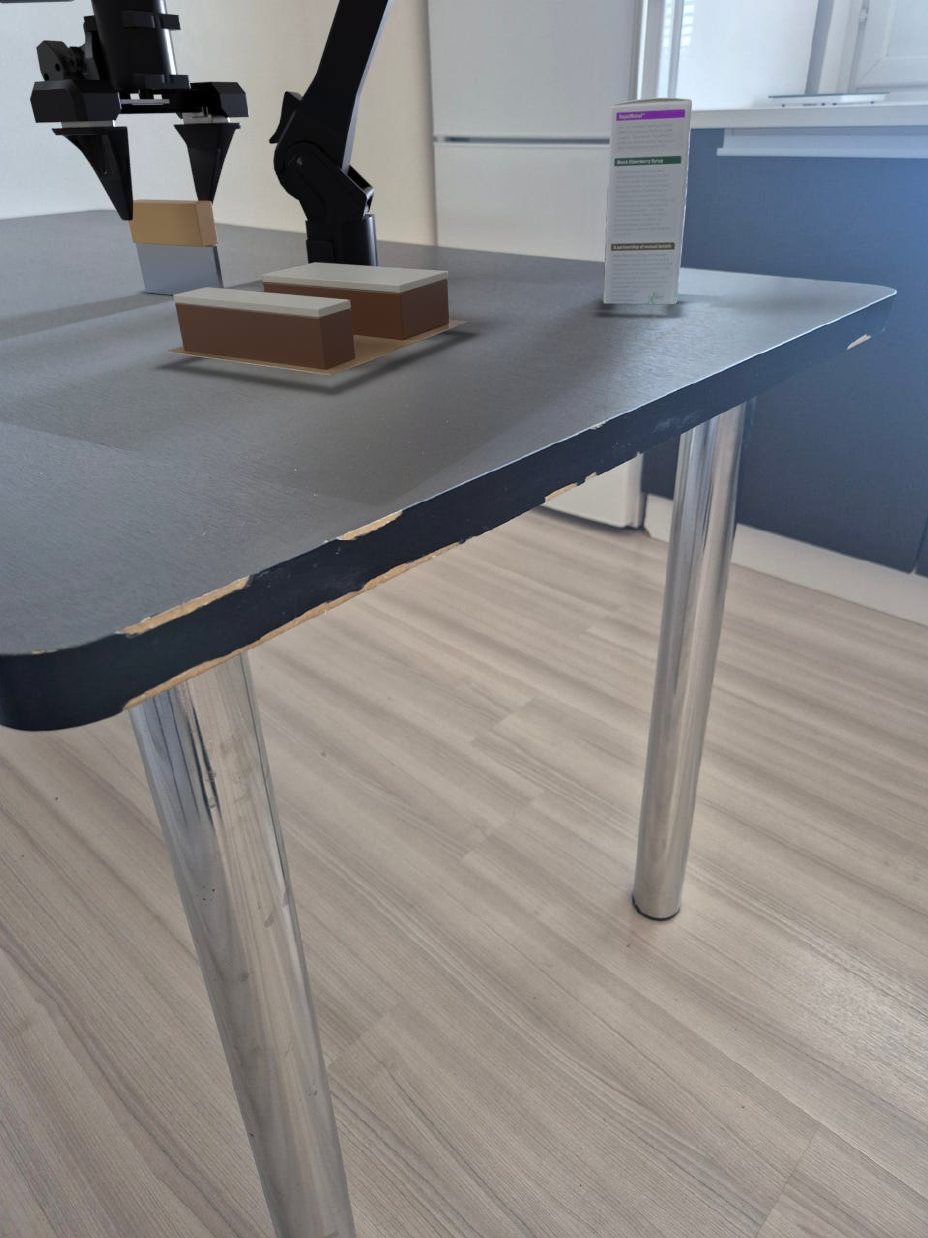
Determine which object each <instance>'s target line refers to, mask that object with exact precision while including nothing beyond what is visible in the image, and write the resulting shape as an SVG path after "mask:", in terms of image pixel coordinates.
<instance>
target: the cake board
mask: <svg viewBox="0 0 928 1238" xmlns="http://www.w3.org/2000/svg"><path fill="white" fill-rule="evenodd" d="M468 322H469V321H467V320H458V319H449V323H446V324H444V325H441V326H438V327H436V328H433V329H431V330H428V331H425V332H423V333H420V334H417V335H415V336H412V337H409V338H407V339H404V340H398V339H389V338H380V337H372V336H363V335H354V334H353V338H354V349H355V359H352V360H349V361H347V362H344V363H342V364H339V365H336V366H334V367H331V368H328V369H326V370H325V369H318V368H310V367H303V366H296V365H289V364H281V363H274V362H267V361H260V360H252V359H245V358H238V357H231V356H223V355H216V354H209V353H202V352H194V351H187V350H184V347H183V345H182V346H179V347H176V348H172V349H168V350H166V351H165V353H169V354H177V355H183V356H184V355H185V356H192V357H197V358H198V357H199V358H204V359H212V360H218V361H226V362H232V363H240V364H248V365H254V366H262V367H269V368H275V369H282V370H289V371H297V372H304V373H311V374H318V375H325V376H333V375H334V376H335V375H336V374H339V373H342V372H344V371H346V370H349V369H351V368H354V367H357V366H359V365H363V364H364V363H367V362H370V361H372V360H375V359H377V358H380V357H382V356H386V355H387V354H390V353H393V352H395V351H398V350H400V349H403V348H406V347H408V346H411V345H413V344H415V343H419V342H421V341H424V340H426V339H429V338H432V337H433V336H436V335H438V334H441V333H444V332H446V331H449V330H451V329H454V328H456V327H459V326H462V325H464V324H467V323H468Z"/></svg>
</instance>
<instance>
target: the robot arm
mask: <svg viewBox="0 0 928 1238" xmlns="http://www.w3.org/2000/svg"><path fill="white" fill-rule="evenodd" d="M74 1H75V0H0V4H3V5H7V4H35V3H36V4H37V3H41V4H42V3H70V2H71V3H72V2H74ZM166 1H167V0H90V3H91V9H92V13H93V14H91V15H83V17H82V18H83V24H82V27H83V28H82V29H83V33H84V43H83V44H81V45H79V46H74V45H70V46H68V45H67V44H66V43H65V42H64V41H62V40H47V39H45V40H44V39H43V40H42V41H41V42H40V43H39V44H38V45H37V46H36V47H35V50H36V54H37V55H36V56H37V61H38V67H39V71H40V74H41V77H42V80H39V81H34V82H33V87H32V88H31V89H32V90H31V94H30V97H29V102H30V106H31V110H32V114H33V118H34V121H35V122H34V123H35V124H49V123H50V124H51V123H60V125H61V127H52V128H51V131H52V133H53V134H54V135H55V136H62V137H64V138H65V139H67V141H69V142H70V143H71V144H72V145H73V146H75V147H76V148H77V150H79V151H80V152H81V153H82V155H83V156H84V158H85V159H86V161H87V162H88V164H89V166H90V167H91V168H92V170H93V171H94V173H95V175H96V176H97V178H98V181H99V182H100V184H101V186H102V187H103V189H104V191H105V193H106V195H107V197H108V198H109V200H110V202H111V203H112V205H113V207H114V209H115V211H116V212H117V214H118V216H119V217H120V219H121V220H122V221H123V222H125V221H126V222H129V221H131V220H133V200H134V193H133V191H134V190H133V179H132V170H131V169H132V168H131V166H132V165H131V157H130V156H131V154H130V143H129V142H130V139H129V130H128V126H126V125H123V126H121V125H120V126H116V125H115V122H116V121H117V119H118V118H119V115H150V114H151V115H153V114H155V115H156V114H157V115H158V114H176V116H177V117H178V118H179V119H180V120H182V122H183V123H173V125H172V126H173V127H174V129H175V130H176V132H177V133H178V135H179V136H180V138H181V139H182V140H183V142H184V143H185V145H186V148H187V149H186V150H187V155H188V160H189V165H190V170H191V176H192V179H193V184H194V185H193V186H194V191H195V194H196V198H197V201H211V203H212V206H213V205H214V201H215V198H216V194H217V190H218V186H219V182H220V178H221V174H222V171H223V168H224V164H225V161H226V158H227V155H228V152H229V149H230V147H231V143H232V140H233V137H234V135H235V132H236V130H241V129H242V123H241V122H231V121H230V118H231V119H232V118H250V111H249V103H248V97H247V92H246V91H245V90H244V89H243V88H242V87H241V85H240V84H239V82H237V81H196V82H191V81H190V75H189V74H179V72H178V66H177V61H176V55H175V48H174V42H173V37H172V36H173V35H172V32H174V31H181V30H182V25H181V21H180V15H179V14H173V13H168V7H167V2H166ZM392 3H393V0H338V4H337V6H336V9H335V13H334V16H333V19H332V21H331V26H330V28H329V32H328V35H327V38H326V41H325V45H324V47H323V51H322V54H321V57H320V61H319V63H318V67H317V70H316V72H315V75H314V77H313V79H312V80H311V82H310V84H309V86H308V87H307V88H306V90H305V92H304V94H303V95H301V93H299V92H296V91H289V90H286V91H284V94H283V98H282V102H281V111H280V118H279V121H278V124H277V127H276V129H275V131H274V133H273V134H272V135H271V136H270V137H269V139H268V143H269V144H270V145H273V144H276V146H275V148H274V153H273V159H272V160H273V161H272V162H273V170H274V172H275V175H276V177H277V180H278V182H279V185H280V186H281V187H282V188H283V189H284V191H285V192H286V193H287V194H288V195H289V196H291V197H292V198H294V199H295V200H296V201H298V203H299V205H300V206H301V209H302V211H303V214H304V215H305V217H306V220H304V224H305V233H306V240H305V250H306V257H307V264H310V263H315V262H316V263H331V264H346V265H361V266H377V267H380V265H379V251H378V239H377V238H378V237H377V236H378V235H377V224H376V214H374V213H369V212H370V210H371V207H372V203H373V200H374V195H375V188H374V186H373V185H372V184H371V183H370V182H369V181H367V179H366V178H364V176H362V174H361V173H359V172H358V171H357V170H356V169H355V168H354V167H353V166H352V165H351V160H352V159H351V158H352V154H353V148H354V143H355V142H354V141H355V135H356V128H357V122H358V121H357V120H358V113H359V105H360V98H361V95H362V94H361V93H362V91H363V88H364V85H365V83H366V79H367V76H368V74H369V71H370V67H371V65H372V62H373V60H374V59H373V58H374V56H375V52H376V50H377V47H378V44H379V41H380V39H381V36H382V33H383V31H384V30H383V29H384V26H385V23H386V21H387V18H388V15H389V11H390V9H391V6H392ZM131 95H138V98H132V96H131ZM155 96H160V97H161V98H155Z"/></svg>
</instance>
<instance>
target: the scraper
mask: <svg viewBox="0 0 928 1238" xmlns="http://www.w3.org/2000/svg"><path fill="white" fill-rule="evenodd" d="M215 221H216V220H215V216H214V209H213V205H212V203H211V201H198V200H191V199H190V200H189V199H188V200H186V199H150V198H149V199H145V198H144V199H143V198H141V199H140V198H139V199H133V220H131V221H128V226H129V230H130V231H129V232H130V236H131V239H132V243H133V244H135V247H136V252H137V257H138V262H139V267H140V271H141V275H142V276H141V277H142V280H143V286H144V290H145V293H147V294H157V295H167V296H173V295H175V294H179V293H184V292H188V291H192V290H197V289H201V288H205V287H211V288H222V289H225V287H224V286H225V285H224V282H223V281H224V280H223V275H222V268H221V262H220V255H219V249H218V245H219V239H218V234H217V229H216V222H215Z"/></svg>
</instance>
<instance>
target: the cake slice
mask: <svg viewBox="0 0 928 1238" xmlns="http://www.w3.org/2000/svg"><path fill="white" fill-rule="evenodd" d="M172 297H173V300H174V306H175V311H176V316H177V321H178V326H179V332H180V337H181V342H182V346H183V347H184V350H187V351H194V352H202V353H209V354H216V355H223V356H231V357H238V358H245V359H252V360H260V361H267V362H274V363H281V364H289V365H296V366H303V367H310V368H318V369H325V370H326V369H328V368H331V367H334V366H336V365H339V364H342V363H344V362H347V361H349V360H352V359H355V349H354V338H353V327H352V317H351V309H350V308H351V306H350V300H345V299H334V298H323V297H312V296H300V295H289V294H278V293H267V292H264V291H256V290H244V289H243V290H242V289H231V288H223V289H222V288H211V287H205V288H201V289H197V290H192V291H188V292H184V293H179V294H175V295H172Z"/></svg>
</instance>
